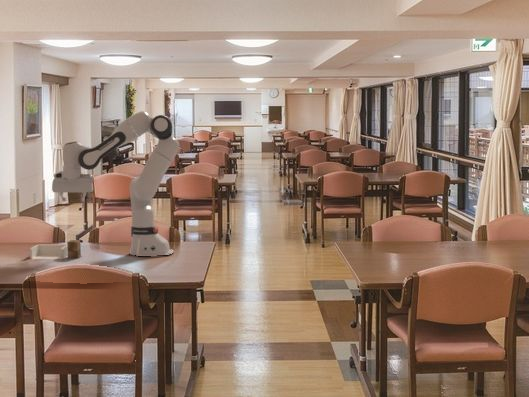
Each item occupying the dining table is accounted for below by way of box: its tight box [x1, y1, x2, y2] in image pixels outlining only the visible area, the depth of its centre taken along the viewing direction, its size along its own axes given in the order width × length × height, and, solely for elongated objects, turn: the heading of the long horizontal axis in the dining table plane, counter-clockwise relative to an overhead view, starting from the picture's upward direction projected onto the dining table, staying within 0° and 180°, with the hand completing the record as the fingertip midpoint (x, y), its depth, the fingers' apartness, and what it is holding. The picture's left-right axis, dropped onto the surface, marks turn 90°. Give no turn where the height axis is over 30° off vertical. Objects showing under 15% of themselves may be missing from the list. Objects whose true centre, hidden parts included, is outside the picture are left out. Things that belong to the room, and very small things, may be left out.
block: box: [66, 239, 82, 259], centre depth 363 cm, size 5×5×8 cm
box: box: [29, 243, 68, 260], centre depth 365 cm, size 16×11×6 cm
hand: (73, 201), depth 372 cm, fingers open, 8 cm apart
